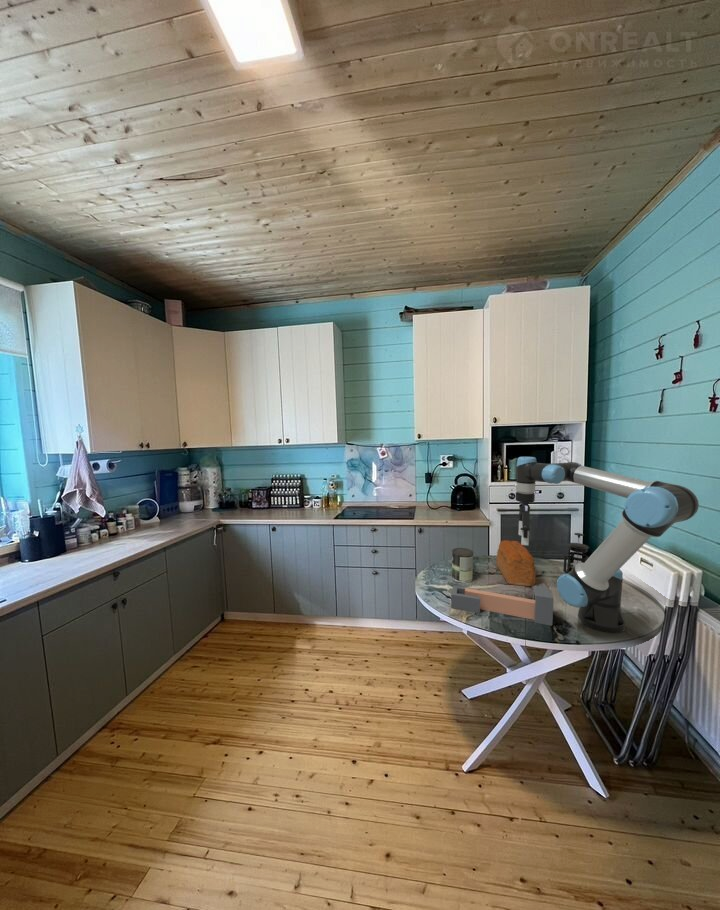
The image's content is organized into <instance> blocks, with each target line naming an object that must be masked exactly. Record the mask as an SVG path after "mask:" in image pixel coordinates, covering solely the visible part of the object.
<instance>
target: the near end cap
mask: <svg viewBox="0 0 720 910" xmlns="http://www.w3.org/2000/svg"><path fill="white" fill-rule="evenodd" d="M532 600H535V617H534V623H535V624H541V625H544V626H545V625H547V626H550V627H551V626H553V621H554V620H553V619H554V618H553V617H554V616H553V615H554V602H555V601H554V596H553V593H552V591H551V589H550V587H543V586H537V585H534V586H533V587H532Z"/></svg>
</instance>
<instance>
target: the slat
mask: <svg viewBox="0 0 720 910" xmlns="http://www.w3.org/2000/svg"><path fill="white" fill-rule="evenodd" d="M469 588H470V587H467V588H465V595H471V596H477V597H480V610H482V611H487V612H493V613H499V614H503V615H509V616H514V617H517V618H518V617H519V618H523V619H529V620H534V617H535V600H533V598H532V599H531V598H525V597H520V596H514V595H509V594H504V593H503V594H501V593H496V592H491V591H485V590H481V589H480V590H475V589H476V588H474V589H469Z"/></svg>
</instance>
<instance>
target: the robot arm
mask: <svg viewBox="0 0 720 910" xmlns="http://www.w3.org/2000/svg"><path fill="white" fill-rule="evenodd" d="M536 481H537V482H541V483H548V484H557V485H559V484H561V483H562V482H565V481H566V482H567V481H568V482H570V483H574V484H578V485H582V486H583V487H584V486H585V487H588V488H592V489H595V490H598V491H602V492H605V493H608V494H612V495H615V496H618V497H621V498H626V499H625V502H624V509H623V510H622V511H621V516H622V519H621V521H620V522H619V523H618V524H617V525H616V527H615V528H614V529H613V530H612V531H611V532H610V533H609V535H608V536H607V537H606V538H605V539H603V541H602V542H601V543H600V545H599V546H598V547H596V549H595V550H594V551H593V552H592V554H591V555H589V556H588V559H587V560H586V561H585V563H582V562H581V561H580V562H578V563H577V562H576V563H577V564H576V565H575V566H574V568H573V569H572V570H571V571H570V572H569V573H568V574H566V573H565V574H564V573H562V574H561V575H560V576H559V577H558V578H557V580H556V588H557V591H558V594H559V596H560V597H561V599H562V600H563V601H564V602H565V603H566V604H567V605H569V606H572V607H574V608H579V609H578V619H579V621H580V622H582V623H583V624H584V625H586V626H588V627H590V628H592V629H594V630H596V631H597V630H598V631H600V632H605V633H611V634H612V633H614V634H617V633H616V632H619V633H622V632H624V631H625V630H624V629H626V621H625V617H624V614H623V611H622V607H621V606H622V603H621V602H622V593H623V591H622V590H623V582H624V578H623V571H622V570H621V568H622V567H623V566H624V565H625V564H627V563H628V561H629V560H630V559H631V558H632V557H633V556H634V555H636V553H637V552H638V551H639V550H640V549H641V548H642V547H643V546H644V545H645V544H646V543H647V542H648V541H649V540H650V539H651V538H660V537H661V536H662V535H663V534H664V533H666V531H668V530H669V528H671V527H672V526H673V525H674V524H677V523H680V522H684V521H687V520H689V519H692V518H693V517H694V516H696V514H697V512H698V510H699V505H700V504H699V503H700V502H699V499H698V497H697V495H696V494H695V493H694V492H693V491H692V490H691V489H689V488H688V487H685V486H682V485H681V484H680V485H679V484H675V483H674V484H673V483H669V482H663V481H659V480H654V481H646V480H641V479H639V478H634V477H629V476H625V475H622V474H618V473H614V472H611V471H610V472H609V471H605V470H601V469H597V468H593V467H588V466H584V465H582V464H581V463H579V462H573V461H569V462H559V463H557V462H556V463H543V462H542V463H541V462H538V461H537V458H536V457H535V456H519V457H518V458H517V462H516V483H515V484H514V487H515V491H516V492H515V501H516V502H519V503H518V504H519V512H518V536H521V539H520V540H521V541H520V544H521V545H523V546H529V543H530V539H529V537H530V530H531V528H530V527H531V525H530V519H531V518H530V514H531V513H530V510H531V506H530V505H529V504H531V503H534V502H535V499H536V498H535V496H536V494H535V492H536ZM623 630H624V631H623ZM621 631H622V632H621Z"/></svg>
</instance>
